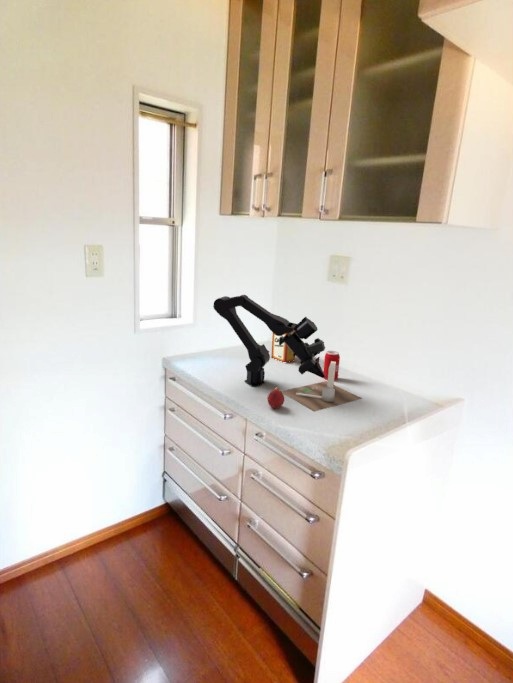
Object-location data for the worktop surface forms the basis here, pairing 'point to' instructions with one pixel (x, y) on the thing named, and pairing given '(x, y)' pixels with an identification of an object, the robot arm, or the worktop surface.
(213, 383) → the worktop surface
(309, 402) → the dial board
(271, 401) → the red oval piece
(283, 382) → the worktop surface
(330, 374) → the white panel with rod
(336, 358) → the beverage can
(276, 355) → the baking soda box
